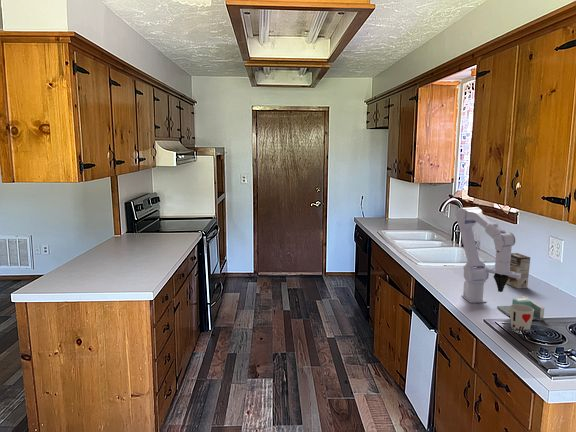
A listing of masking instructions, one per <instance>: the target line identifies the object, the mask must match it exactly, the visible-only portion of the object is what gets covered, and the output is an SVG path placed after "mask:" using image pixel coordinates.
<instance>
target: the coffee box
mask: <svg viewBox="0 0 576 432" xmlns="http://www.w3.org/2000/svg"><path fill="white" fill-rule="evenodd" d="M530 264H531V257H530V256H527V255H524V254H521V253H518V252H513V253H512V252H511V261H510V271H512V272H516V273H519V274H521V278H520V279H517V278H513V277H510V278H509V279H508V281H507V282H506V284H507V285H509V286H511V287H513V288H515V289H526V288H528V283H529V275H530V268H531V267H530V266H531V265H530ZM506 284H505V285H506Z"/></svg>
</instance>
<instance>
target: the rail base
mask: <svg viewBox="0 0 576 432" xmlns="http://www.w3.org/2000/svg"><path fill="white" fill-rule="evenodd" d="M520 298H527V299H528V300H530V301H532V303H531V307H532V308H533V309H534V314H533V319H543V320H544V315H545V314H544V313H545V307H543V306H542V305H540V304H538V302H536V301H534V300H532V299H530V298H529V297H527V296H526V295H521V296H520ZM510 306H511V305H500V306H496V309H497V308H498V309H497V310H498V311H500V310H501V311H500V312H501V313H503V312H504V313H505V314H504V313H503V314H504V315H505V316H507V315H508V316H507V317H509V316H510Z"/></svg>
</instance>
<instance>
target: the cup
mask: <svg viewBox="0 0 576 432" xmlns="http://www.w3.org/2000/svg"><path fill="white" fill-rule="evenodd" d="M509 306H510V317H509V318H510V326H511V329H513V330H515V331H519V332H520V331H528V330H529V331H530V329H531V326H532V323H533V321H532V320H533V314H534V309H533V308H532V307H529V306H526V305H521V304H513V305H512V304H511V305H509ZM513 330H512V331H513ZM529 331H528V332H529Z"/></svg>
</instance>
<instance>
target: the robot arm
mask: <svg viewBox="0 0 576 432" xmlns="http://www.w3.org/2000/svg"><path fill="white" fill-rule="evenodd" d="M455 216H456V222H457V225H458V228H459V232H460V237H461V241H462V244H463V249H464V253H465V257H466V263H465V264H464V265H463V266H462V267H463V278H464V279H465V281H464V283H463V293H462V294H461V297H462V298H464V299H465V300H466V301H468V302H469V303H470V304H471V303H487V300H486V299H485V298H484V292H485V291H484V289H485V288H484V287H485V283H486V282H487V281H488V279H489V276H490V274H494V275H493V279H494V281H495V284H496V286H497V287H496V288H497V292H499V293H503V292H504V289H505V286H506V282H507V281H508V279H509V278H510V277H513V278H517V279H520V278H521V274H519V273H516V272H512V271H510V261H511V253H512V247H513V246H514V245H516V237H515V235H514V233H513V232H511V231H510V232H508V231H506V230H505V229H503V228H502V226H500V225H499V224H498V222H491V221H490V220H489V219H488V218H487V216H485V215H484V214H483V210H482V209H481V208H480V207H479V206H475V207H473V206H472V207H458V209H457V211H456V213H455ZM477 223H478V224H479V225H480V226H482V227H483V228H484V231H485V233H486V234H487V235H488V236H489V237H490V238H491V239H493V243H494V249H495V260H494V261H495V262H494V267H488V266H486V263H485V262H483V261H481V260H480V258H479V252H478V249H477V244H476V241H475V237H474V231H473V227H474V226H476V224H477Z"/></svg>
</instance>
